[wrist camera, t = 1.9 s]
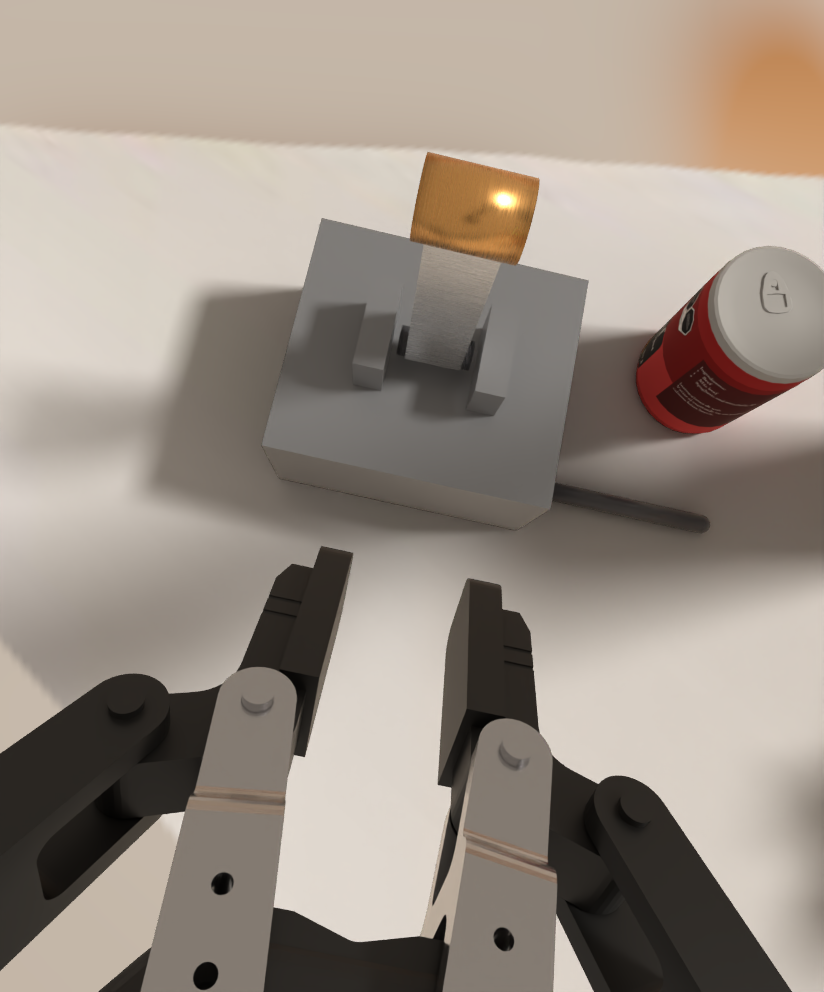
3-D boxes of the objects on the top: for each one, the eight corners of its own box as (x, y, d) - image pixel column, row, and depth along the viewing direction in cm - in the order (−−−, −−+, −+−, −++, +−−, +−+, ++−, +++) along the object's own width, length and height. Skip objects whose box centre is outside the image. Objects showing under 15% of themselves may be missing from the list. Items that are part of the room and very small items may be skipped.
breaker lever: (474, 337, 37) (544, 159, 23) (464, 387, 36) (530, 235, 22) (404, 321, 37) (431, 132, 23) (392, 370, 36) (413, 208, 22)
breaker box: (721, 378, 47) (828, 304, 36) (699, 570, 44) (808, 552, 33) (328, 287, 46) (318, 184, 35) (279, 478, 43) (252, 428, 32)
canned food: (709, 318, 48) (810, 229, 37) (754, 419, 47) (872, 356, 36) (614, 347, 47) (690, 264, 36) (657, 451, 46) (749, 396, 35)
